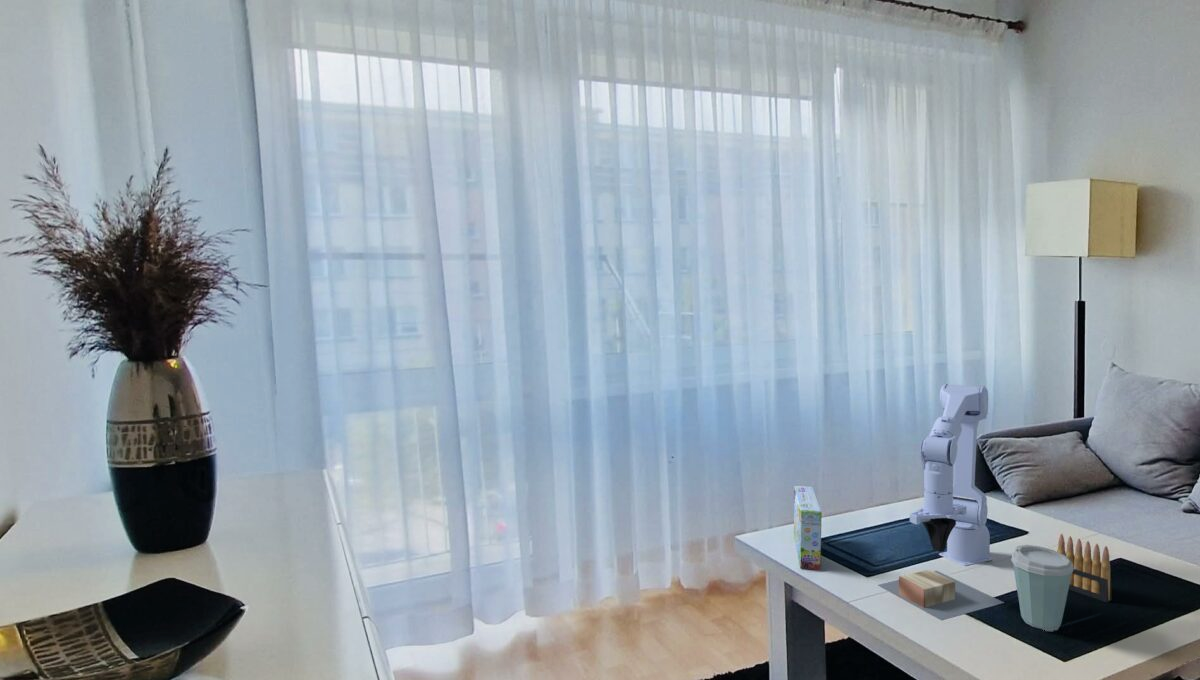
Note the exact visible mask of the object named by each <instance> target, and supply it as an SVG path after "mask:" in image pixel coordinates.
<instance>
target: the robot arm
mask: <svg viewBox="0 0 1200 680" xmlns="http://www.w3.org/2000/svg"><path fill="white" fill-rule="evenodd" d="M939 392H940V393H939V404H940V406H941V408H942V409H943V413H942V416H939V417H937V419H935V421H934V423H933V426H932V428H931V430H930V433H929V435H927V436H926V437H923V438H922V439H921V442H920V446H919V447H920V448H919V449H920V450H919V452H920V459H921V468H922V470H923V473H924V474H923V495H924V496H923V499H924V500H923V501H924V502H923V507H922V508H920V509H918V510H917V511H914V512H911V513H909V523H912V524H913V525H916V526H917V525H920V524H921V523H922V524H923V526H924V528H925V530H926V532H927V534H928V537H929V540H930V544H931V547H932V550H934V551H936V552H939V553H938V555H939V556H941V557H943V558H945V559H948V560H950V561H953V562H954V563H957V564H959V565H961V566H964V567H967V566H972V565H977V564H980V563H986V562H989V561H993V559H994V558H993V557H991V555H990V545H991V543H990V542H991V541H990V540H991V539H990V538H991V536H990V531H989V528H988V527H987V525H986V523H987V519H988V505H987V503H988V500H987V498H988V497H987V496H986V493H984V492H983V491H982V490H981V489H979V488H978V487H977V486H976V484H975V483H976V482H975V481H976V461H977V439H978V426H979V423H980V421H982V420H985V419H987V416H988V413H989V412H988V411H989V392H988V388H987V387H986V386H984V385H982V386H980V385H979V386H977V385H976V386H975V385H960V384H948V383H944V384H943V385H942V386H941V387H940V390H939ZM945 549H946V551H945Z"/></svg>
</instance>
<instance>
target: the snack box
mask: <svg viewBox="0 0 1200 680" xmlns="http://www.w3.org/2000/svg"><path fill="white" fill-rule="evenodd" d="M793 539H794V543H795V547H796V553H797V559H798V563H799V564H798V565H799V568H800V569H807V570H821V568H822V567H821V566H822V565H821V563H822V561H821V560H822V510H821V506H820V503H819V500H818V498H817V495H816V493H815V489H814V487H813V486H809V485H808V486H806V485H794V486H793Z"/></svg>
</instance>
